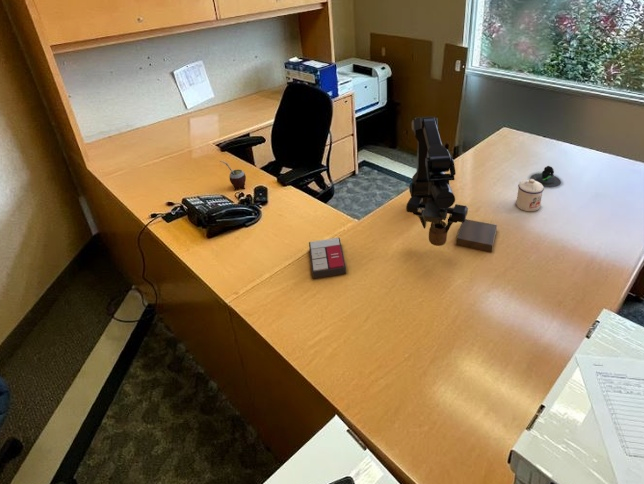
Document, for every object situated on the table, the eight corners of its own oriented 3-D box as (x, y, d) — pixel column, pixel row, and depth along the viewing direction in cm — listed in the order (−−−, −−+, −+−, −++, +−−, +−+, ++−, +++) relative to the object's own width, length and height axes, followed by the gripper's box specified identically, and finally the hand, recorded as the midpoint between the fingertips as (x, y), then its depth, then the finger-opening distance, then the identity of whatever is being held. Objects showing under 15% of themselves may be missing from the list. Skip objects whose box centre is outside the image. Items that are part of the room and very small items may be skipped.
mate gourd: (250, 185, 189) (244, 156, 182) (238, 193, 184) (231, 164, 176) (239, 181, 193) (232, 153, 186) (226, 189, 187) (219, 160, 180)
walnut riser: (456, 244, 145) (456, 237, 143) (462, 225, 154) (463, 218, 153) (491, 252, 140) (492, 245, 139) (496, 231, 150) (497, 224, 148)
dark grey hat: (565, 186, 172) (571, 161, 166) (536, 188, 173) (541, 162, 167) (553, 172, 182) (558, 148, 177) (526, 173, 183) (530, 149, 177)
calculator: (311, 271, 132) (308, 240, 145) (313, 280, 135) (309, 249, 147) (345, 265, 134) (339, 235, 146) (346, 275, 136) (340, 244, 148)
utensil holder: (442, 248, 135) (445, 220, 129) (424, 242, 138) (426, 214, 132) (449, 238, 140) (452, 210, 133) (431, 232, 142) (433, 204, 136)
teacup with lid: (531, 215, 157) (536, 188, 151) (510, 205, 163) (514, 179, 157) (549, 203, 163) (554, 177, 157) (528, 193, 169) (532, 169, 163)
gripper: (400, 198, 126) (401, 238, 134) (463, 209, 119) (459, 251, 127) (411, 180, 135) (411, 219, 142) (469, 189, 128) (466, 230, 135)
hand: (435, 230), depth 137 cm, fingers closed on utensil holder, 7 cm apart
